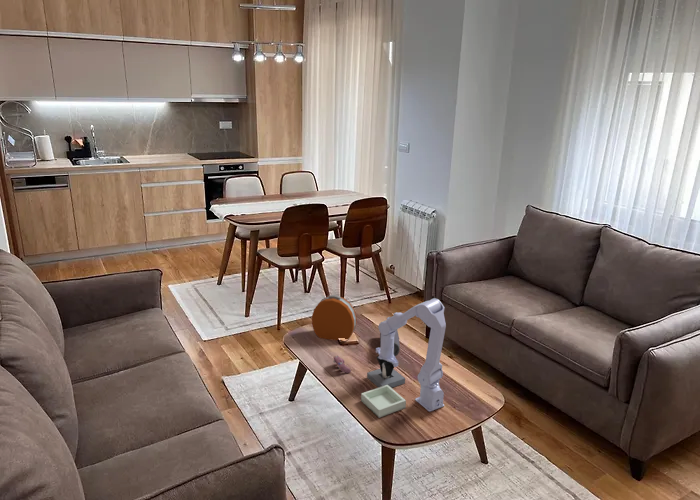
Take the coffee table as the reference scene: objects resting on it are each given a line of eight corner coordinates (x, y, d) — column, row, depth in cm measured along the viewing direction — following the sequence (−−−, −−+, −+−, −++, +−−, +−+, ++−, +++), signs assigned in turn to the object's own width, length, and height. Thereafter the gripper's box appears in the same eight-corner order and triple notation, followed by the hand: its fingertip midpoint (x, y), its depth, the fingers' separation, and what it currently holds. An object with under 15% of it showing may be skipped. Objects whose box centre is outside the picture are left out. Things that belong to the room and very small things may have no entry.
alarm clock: (357, 334, 262) (358, 294, 255) (352, 342, 253) (353, 301, 246) (317, 328, 267) (317, 289, 260) (311, 336, 258) (311, 296, 251)
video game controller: (336, 366, 234) (330, 356, 231) (344, 361, 234) (338, 350, 231) (343, 377, 225) (337, 366, 222) (352, 372, 226) (345, 361, 223)
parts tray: (405, 407, 201) (406, 400, 200) (378, 417, 195) (379, 410, 194) (387, 391, 212) (387, 384, 211) (361, 400, 206) (361, 393, 205)
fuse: (391, 381, 220) (392, 365, 217) (384, 383, 218) (385, 367, 216) (386, 377, 223) (387, 361, 220) (380, 379, 221) (380, 363, 219)
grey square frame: (405, 383, 218) (405, 378, 218) (382, 391, 213) (382, 385, 212) (389, 370, 228) (389, 365, 227) (367, 377, 222) (367, 372, 222)
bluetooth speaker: (400, 360, 237) (401, 341, 234) (380, 359, 237) (381, 341, 234) (397, 337, 259) (397, 320, 256) (379, 337, 259) (379, 319, 256)
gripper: (370, 341, 219) (369, 368, 223) (389, 355, 207) (388, 384, 211) (383, 337, 223) (382, 364, 227) (403, 351, 211) (401, 379, 215)
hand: (386, 373), depth 219 cm, fingers closed on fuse, 3 cm apart
